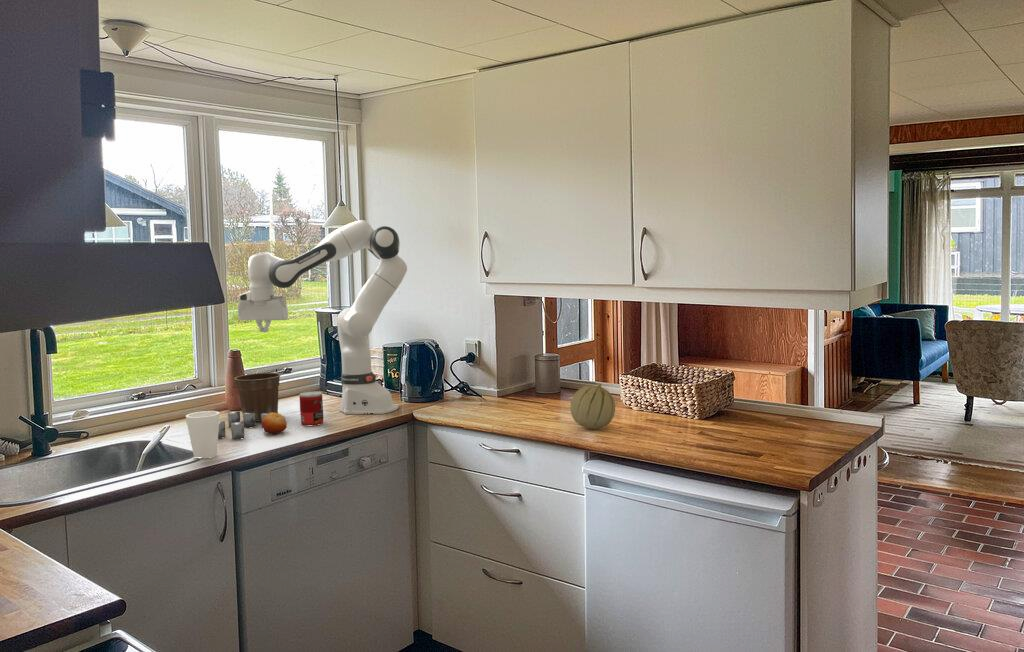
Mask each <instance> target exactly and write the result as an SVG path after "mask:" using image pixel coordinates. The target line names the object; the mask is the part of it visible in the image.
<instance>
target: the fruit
mask: <svg viewBox="0 0 1024 652" xmlns="http://www.w3.org/2000/svg"><path fill="white" fill-rule="evenodd" d="M287 421H288V420H287V419H286V417H285V416H284V415H282V414H281V413H279V412H278V413H273V412H272V413H269V414H267V415H266V416H265V417H264V418H263V420H262V425H263V428H262V430H264V431H263V433H264V434H265V433H266V434H268V435H273V436H275V434H276V435H278V434H281V433H282V432H283V433H284V432H285V430H286V429H287V428H288V422H287Z"/></svg>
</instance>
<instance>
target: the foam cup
mask: <svg viewBox="0 0 1024 652" xmlns="http://www.w3.org/2000/svg"><path fill="white" fill-rule="evenodd" d="M220 418H221V416H220V412H219V411H215V410H203V411H196V412H195V411H194V412H191V413H188V414H186V415H185V423H186V426H187V430H188V435H189V440H190V444H191V448H192V453H193V456H194V457H202V458H209V457H213V456H215V457H217V456H216V455H218V454H217V453H218V446H219V445H218V444H219V438H218V431H219V421H221V419H220ZM213 458H214V457H213ZM209 459H210V458H209Z"/></svg>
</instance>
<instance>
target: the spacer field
mask: <svg viewBox="0 0 1024 652" xmlns="http://www.w3.org/2000/svg"><path fill="white" fill-rule="evenodd" d="M269 413H272V412H264V413H261V422H260V423H261V424H260V425H261V429H263V425H262V420H263V418H264V417H265V416H266V415H267V414H269ZM227 420H228V422H227V423H228V428H230V430H231V431H230V433H231V439H232V440H233V439H239V440H242V439H241V438H243V439H245V438H244V437H245V429H250V428H249V427H252V428H255V427H254V426H257V425H256V422H257V421H255V412H244V413H243V414H242V421H241V413H240V411H238V410H237V411H236V410H235V411H228V412H227ZM244 427H246V428H244ZM225 436H226V437H227V435H226V422H225V421H223V420H220V421H219V431H218V439H223V438H222V437H224V438H226V437H225Z"/></svg>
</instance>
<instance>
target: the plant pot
mask: <svg viewBox="0 0 1024 652" xmlns="http://www.w3.org/2000/svg"><path fill="white" fill-rule="evenodd" d="M281 376H282V375H281V373H279V372H277V373H276V372H260V373H259V372H258V373H249V374H242V375H239V376H236V377H234V381H235V384H236V389H237V390H238V395H239V402H240V407H241V413H242V415H243V413H244V412H255V421H256V422H260V423H261V413H264V412H273V413H278V414H279V387H280V377H281Z"/></svg>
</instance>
